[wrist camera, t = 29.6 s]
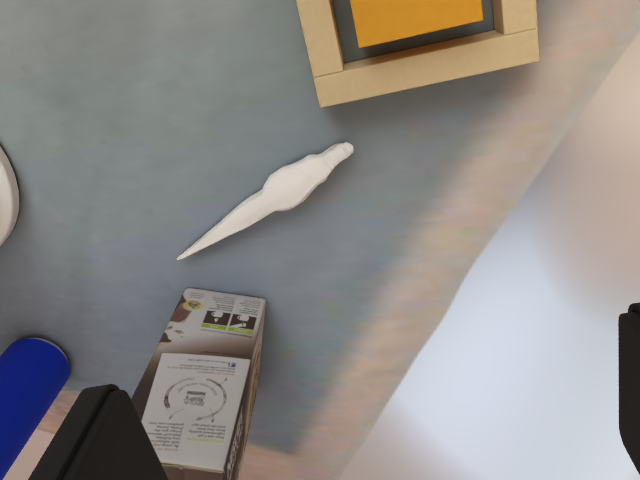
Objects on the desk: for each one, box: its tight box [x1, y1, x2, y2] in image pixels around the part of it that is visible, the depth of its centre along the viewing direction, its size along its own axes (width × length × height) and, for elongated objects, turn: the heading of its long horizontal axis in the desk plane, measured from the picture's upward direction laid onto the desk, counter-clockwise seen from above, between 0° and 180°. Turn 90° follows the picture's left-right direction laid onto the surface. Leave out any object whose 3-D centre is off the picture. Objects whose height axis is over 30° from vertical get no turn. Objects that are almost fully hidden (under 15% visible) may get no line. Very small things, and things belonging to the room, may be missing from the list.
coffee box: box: [131, 288, 266, 480], centre depth 38 cm, size 9×6×16 cm
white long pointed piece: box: [177, 142, 353, 260], centre depth 40 cm, size 15×3×2 cm, turn 125°
